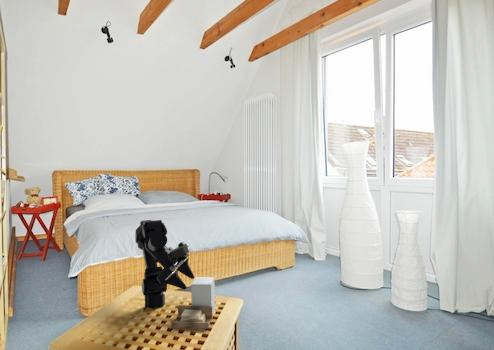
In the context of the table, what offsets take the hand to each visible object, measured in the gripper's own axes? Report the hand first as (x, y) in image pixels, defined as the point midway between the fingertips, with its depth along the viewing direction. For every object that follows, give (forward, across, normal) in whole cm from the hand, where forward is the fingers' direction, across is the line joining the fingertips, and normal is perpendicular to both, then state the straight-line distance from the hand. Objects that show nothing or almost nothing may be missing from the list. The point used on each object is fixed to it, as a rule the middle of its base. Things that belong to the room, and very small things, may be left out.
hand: (189, 283), depth 120 cm
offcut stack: (+10, -8, +5) cm, 14 cm away
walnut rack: (+10, -8, +6) cm, 14 cm away
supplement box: (+12, +1, +5) cm, 13 cm away
